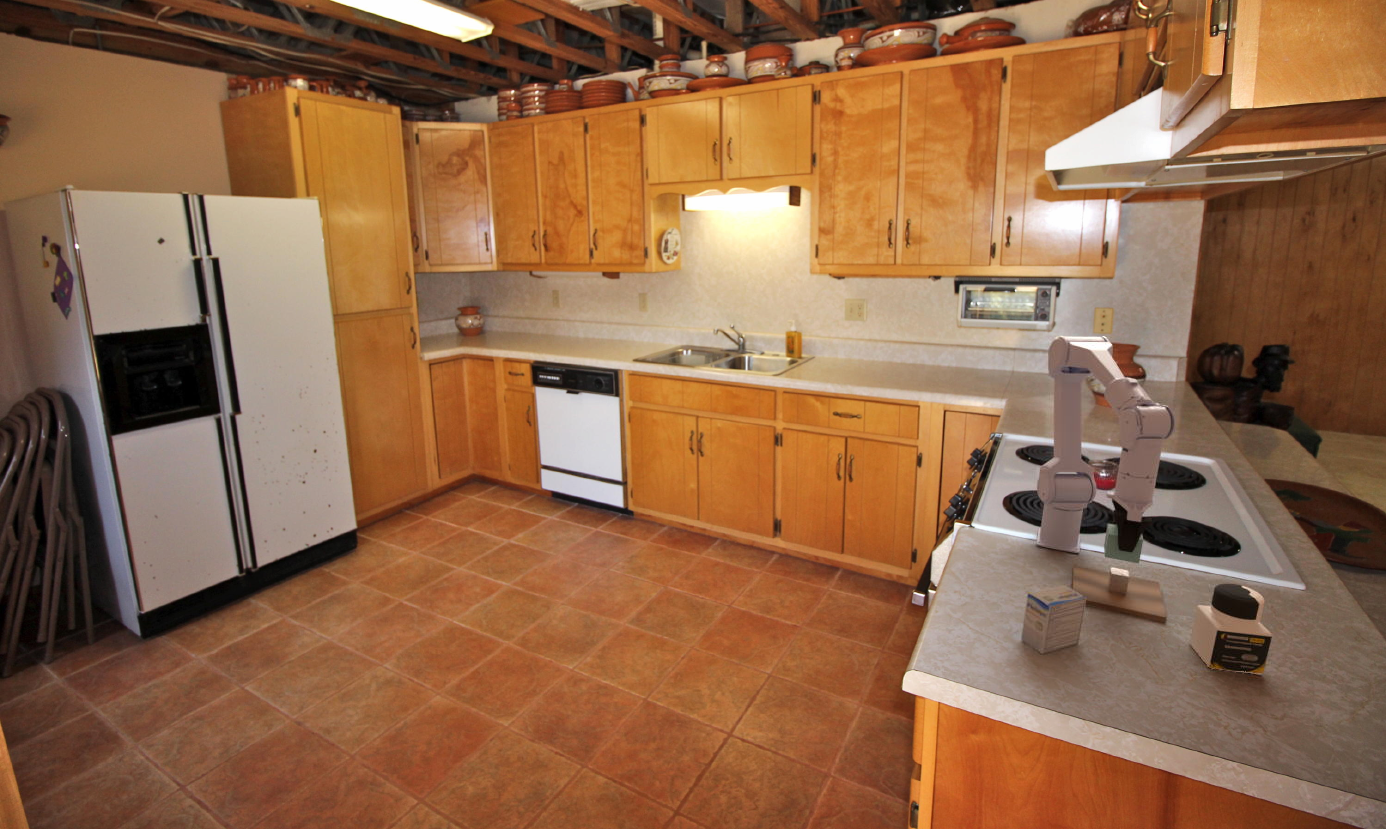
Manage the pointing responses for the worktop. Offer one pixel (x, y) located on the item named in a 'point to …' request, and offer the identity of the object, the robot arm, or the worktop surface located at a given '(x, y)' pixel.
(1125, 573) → the wooden block
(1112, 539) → the sage green cube
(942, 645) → the worktop surface
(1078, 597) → the medicine box
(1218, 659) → the medicine bottle
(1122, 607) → the board
